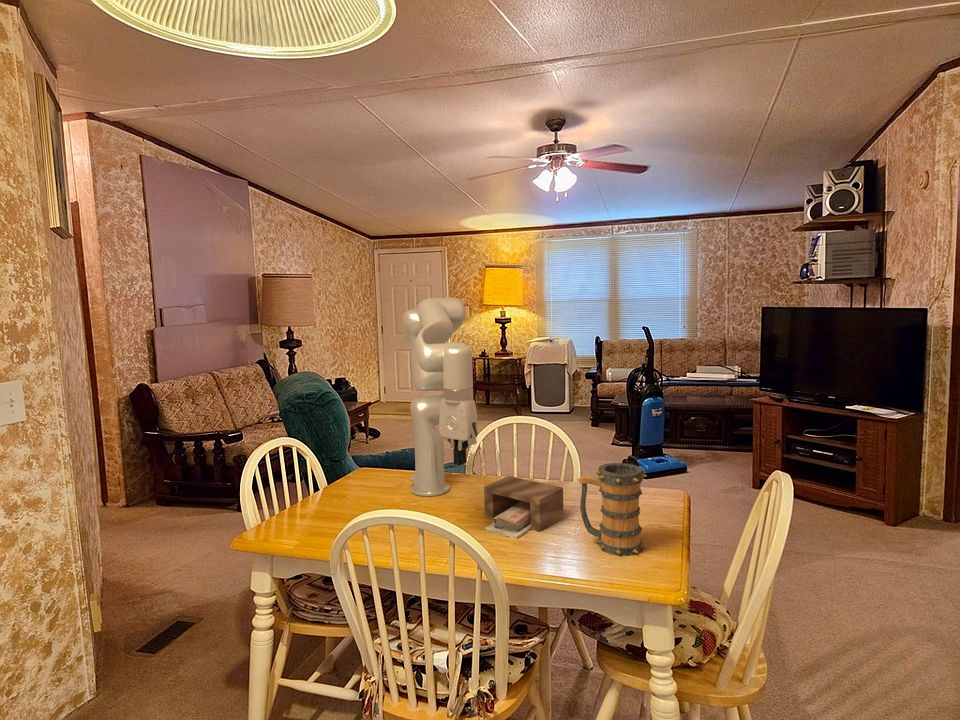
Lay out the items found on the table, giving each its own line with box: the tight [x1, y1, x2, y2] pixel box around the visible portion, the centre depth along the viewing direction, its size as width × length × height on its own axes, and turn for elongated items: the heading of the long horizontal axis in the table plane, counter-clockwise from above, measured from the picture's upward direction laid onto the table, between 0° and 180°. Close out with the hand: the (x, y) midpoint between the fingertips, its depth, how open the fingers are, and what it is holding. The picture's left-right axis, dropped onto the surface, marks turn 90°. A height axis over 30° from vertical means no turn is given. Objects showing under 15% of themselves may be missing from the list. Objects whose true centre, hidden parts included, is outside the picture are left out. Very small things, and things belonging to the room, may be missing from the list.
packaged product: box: [485, 501, 531, 539], centre depth 163 cm, size 18×5×10 cm
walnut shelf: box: [483, 475, 564, 532], centre depth 167 cm, size 19×12×9 cm, turn 51°
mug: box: [576, 462, 648, 557], centre depth 146 cm, size 13×17×20 cm
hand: (460, 463), depth 153 cm, fingers closed
